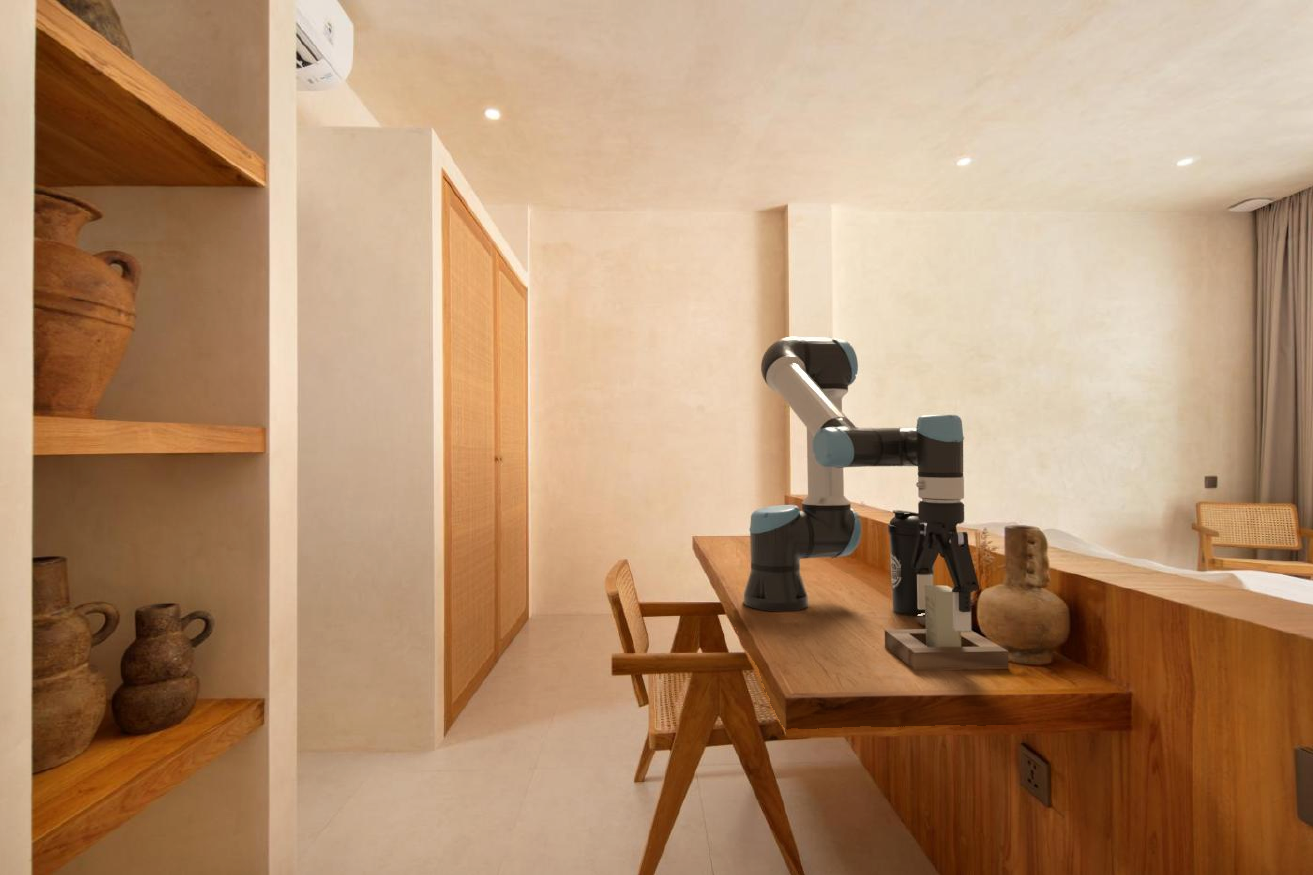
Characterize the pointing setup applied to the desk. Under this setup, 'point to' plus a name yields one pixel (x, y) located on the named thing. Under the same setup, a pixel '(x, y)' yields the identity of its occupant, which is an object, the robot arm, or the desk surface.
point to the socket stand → (946, 651)
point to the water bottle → (904, 562)
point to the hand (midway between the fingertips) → (942, 619)
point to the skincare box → (940, 617)
